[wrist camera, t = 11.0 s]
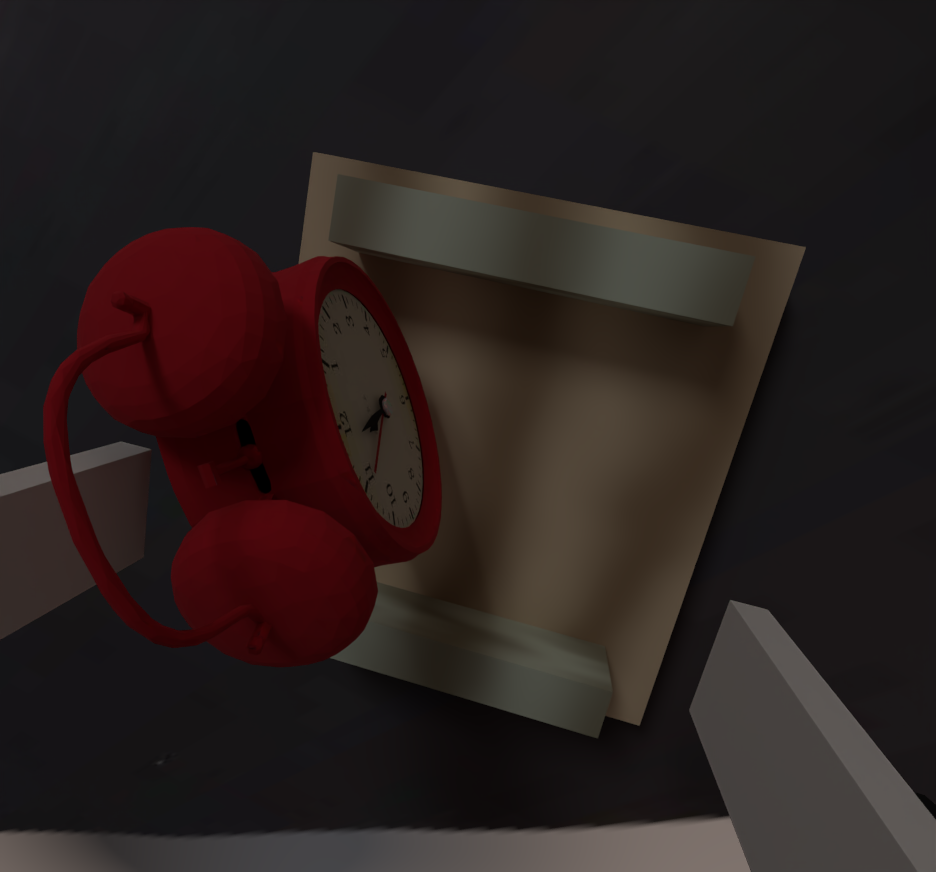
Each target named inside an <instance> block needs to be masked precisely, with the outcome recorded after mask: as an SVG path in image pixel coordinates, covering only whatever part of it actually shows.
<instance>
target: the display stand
mask: <svg viewBox="0 0 936 872" xmlns="http://www.w3.org/2000/svg"><path fill="white" fill-rule="evenodd" d="M805 248H806V247H801V246H796V245H791V244H786V243H780V242H775V241H770V240H765V239H760V238H755V237H749V236H744V235H739V234H734V233H729V232H724V231H718V230H713V229H708V228H703V227H698V226H693V225H687V224H682V223H677V222H672V221H667V220H662V219H657V218H651V217H646V216H641V215H636V214H631V213H626V212H620V211H615V210H610V209H605V208H600V207H595V206H589V205H584V204H579V203H574V202H569V201H564V200H558V199H553V198H548V197H543V196H538V195H533V194H528V193H522V192H517V191H512V190H507V189H502V188H497V187H491V186H486V185H481V184H476V183H471V182H466V181H460V180H455V179H450V178H445V177H440V176H435V175H429V174H424V173H419V172H414V171H409V170H404V169H398V168H393V167H388V166H383V165H378V164H373V163H368V162H362V161H357V160H352V159H347V158H342V157H337V156H331V155H326V154H321V153H316V152H313V158H312V165H311V173H310V181H309V188H308V196H307V204H306V211H305V219H304V227H303V234H302V242H301V250H300V257H299V264H300V263H302V262H305V261H307V260H309V259H312V258H314V257H317V256H326V257H334V256H340V257H345V258H347V259H349V260H351V261H353V262H354V263H355V264H357V265H358V266H359V267H360V268H361V269H362V270H363V271H364V272H365V273H366V274H367V275H368V276H369V278H370V279H371V280H372V281H373V283H374V284H375V285H376V287H377V288H378V290H379V291H380V293H381V294H382V296H383V298H384V299H385V301H386V303H387V304H388V306H389V308H390V309H391V311H392V313H393V315H394V317H395V319H396V321H397V323H398V325H399V327H400V329H401V332H402V334H403V336H404V338H405V340H406V343H407V345H408V347H409V350H410V352H411V355H412V357H413V360H414V363H415V365H416V368H417V371H418V374H419V377H420V380H421V383H422V387H423V390H424V393H425V397H426V400H427V403H428V407H429V411H430V415H431V419H432V424H433V428H434V433H435V438H436V443H437V449H438V455H439V463H440V472H441V483H442V510H441V520H440V526H439V530H438V534H437V537H436V539H435V541H434V543H433V545H432V546H431V547H430V548H429V549H428V550H427V551H425V552H423V553H421V554H419V555H418V556H417V557H415V558H414V559H412V560H410V561H407V562H401V563H395V564H388V565H382V566H378V567H374V569H375V575H376V581H377V587H378V594H377V598H376V602H375V606H374V609H373V612H372V614H371V617H370V619H369V621H368V623H367V625H366V628H365V630H364V631H363V632H362V633H361V634H360V636H359V637H358V638H357V639H356V640H355V641H354V642H352V643H351V644H350V645H349V646H348V647H346V648H345V649H344V650H342V651H341V652H339V653H338V654H336V655H334V656H332V657H330V658H332V659H336V660H339V661H342V662H346V663H349V664H352V665H356V666H359V667H362V668H366V669H369V670H372V671H375V672H379V673H382V674H385V675H389V676H392V677H395V678H399V679H402V680H405V681H409V682H412V683H415V684H419V685H422V686H425V687H429V688H432V689H435V690H439V691H442V692H445V693H449V694H452V695H455V696H459V697H462V698H465V699H468V700H472V701H475V702H478V703H482V704H485V705H488V706H492V707H495V708H498V709H502V710H505V711H508V712H512V713H515V714H518V715H522V716H525V717H528V718H532V719H535V720H538V721H542V722H545V723H548V724H552V725H555V726H558V727H561V728H565V729H568V730H571V731H575V732H578V733H581V734H585V735H588V736H591V737H595V738H598V736H599V733H600V730H601V727H602V724H603V721H604V718H605V716H608V717H611V718H615V719H618V720H622V721H625V722H628V723H632V724H635V725H638V726H639V725H640V723H641V720H642V717H643V714H644V711H645V708H646V705H647V702H648V700H649V697H650V694H651V691H652V688H653V685H654V682H655V679H656V677H657V674H658V671H659V668H660V665H661V662H662V659H663V656H664V654H665V651H666V648H667V645H668V642H669V639H670V636H671V633H672V631H673V628H674V625H675V622H676V619H677V616H678V613H679V610H680V608H681V605H682V602H683V599H684V596H685V593H686V590H687V587H688V585H689V582H690V579H691V576H692V573H693V570H694V567H695V564H696V562H697V559H698V556H699V553H700V550H701V547H702V544H703V542H704V539H705V536H706V533H707V530H708V527H709V524H710V521H711V519H712V516H713V513H714V510H715V507H716V504H717V501H718V498H719V496H720V493H721V490H722V487H723V484H724V481H725V478H726V475H727V473H728V470H729V467H730V464H731V461H732V458H733V455H734V452H735V450H736V447H737V444H738V441H739V438H740V435H741V432H742V429H743V427H744V424H745V421H746V418H747V415H748V412H749V409H750V406H751V404H752V401H753V398H754V395H755V392H756V389H757V386H758V383H759V381H760V378H761V375H762V372H763V369H764V366H765V363H766V360H767V358H768V355H769V352H770V349H771V346H772V343H773V340H774V337H775V335H776V332H777V329H778V326H779V323H780V320H781V317H782V314H783V312H784V309H785V306H786V303H787V300H788V297H789V294H790V291H791V289H792V286H793V283H794V280H795V277H796V274H797V271H798V268H799V266H800V263H801V260H802V257H803V254H804V251H805Z"/></svg>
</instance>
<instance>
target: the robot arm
mask: <svg viewBox="0 0 936 872" xmlns="http://www.w3.org/2000/svg"><path fill="white" fill-rule="evenodd" d="M70 459H71V465H72V470H73V474H74V477H75V480H76V483H77V486H78V488H79V491H80V494H81V497H82V499H83V502H84V505H85V507H86V510H87V513H88V516H89V518H90V521H91V524H92V526H93V529H94V532H95V535H96V537H97V540H98V542H99V544H100V546H101V548H102V550H103V553H104V555H105V557H106V558H107V560H108V562H109V563H110V565H111V566H112V568H113V569H114V571H115V572H116V573H117V572H119V571H120V570H122V569H124V568H126V567H127V566H129V565H131V564H133V563H134V562H136V561H138V560H139V559H141V558H143V557H144V545H145V531H146V518H147V504H148V491H149V477H150V463H151V449H148V448H144V447H140V446H136V445H132V444H128V443H125V442H118V443H114V444H111V445H107V446H103V447H100V448H96V449H92V450H89V451H85V452H81V453H78V454H74V455H70ZM94 585H96V583H95V581H94V579H93V577H92V575H91V574H90V572H89V570H88V568H87V566H86V565H85V563H84V561H83V559H82V557H81V556H80V554H79V552H78V550H77V548H76V547H75V545H74V543H73V541H72V538H71V535H70V532H69V530H68V527H67V524H66V521H65V518H64V516H63V513H62V510H61V507H60V504H59V502H58V499H57V496H56V493H55V490H54V488H53V485H52V482H51V478H50V475H49V471H48V465H47V462H44V463H41V464H37V465H33V466H29V467H26V468H22V469H18V470H15V471H11V472H7V473H4V474H0V639H2V638H4V637H6V636H7V635H9V634H11V633H13V632H14V631H16V630H18V629H20V628H21V627H23V626H25V625H26V624H28V623H30V622H32V621H33V620H35V619H37V618H39V617H40V616H42V615H44V614H46V613H47V612H49V611H51V610H53V609H54V608H56V607H58V606H60V605H61V604H63V603H65V602H66V601H68V600H70V599H72V598H73V597H75V596H77V595H79V594H80V593H82V592H84V591H86V590H87V589H89V588H91V587H93V586H94ZM689 711H690V714H691V716H692V719H693V722H694V724H695V727H696V729H697V732H698V735H699V737H700V740H701V742H702V745H703V748H704V750H705V753H706V756H707V758H708V761H709V763H710V766H711V769H712V771H713V774H714V776H715V779H716V782H717V784H718V787H719V789H720V792H721V795H722V797H723V800H724V802H725V805H726V808H727V810H728V813H729V815H730V818H731V821H732V823H733V826H734V828H735V831H736V834H737V836H738V839H739V841H740V844H741V847H742V849H743V851H744V854H745V857H746V859H747V862H748V865H749V867H750V870H751V872H936V805H935V804H934V803H933V802H932V801H931V800H929V799H928V798H927V797H926V796H925V795H922V794H918V793H915V792H913V791H912V789H911V788H910V787H909V786H908V784H907V783H906V782H905V781H904V779H903V778H902V777H901V776H900V774H899V773H898V772H897V771H896V769H895V768H894V767H893V766H892V764H891V763H890V762H889V761H888V759H887V758H886V757H885V756H884V754H883V753H882V752H881V751H880V749H879V748H878V747H877V746H876V744H875V743H874V742H873V741H872V739H871V738H870V737H869V736H868V734H867V733H866V732H865V731H864V729H863V728H862V727H861V726H860V724H859V723H858V722H857V721H856V719H855V718H854V717H853V716H852V714H851V713H850V712H849V711H848V709H847V708H846V707H845V706H844V704H843V703H842V702H841V701H840V699H839V698H838V697H837V696H836V694H835V693H834V692H833V691H832V689H831V688H830V687H829V686H828V684H827V683H826V682H825V681H824V679H823V678H822V677H821V676H820V674H819V673H818V672H817V671H816V669H815V668H814V667H813V666H812V664H811V663H810V662H809V661H808V659H807V658H806V657H805V656H804V654H803V653H802V652H801V651H800V649H799V648H798V647H797V646H796V644H795V643H794V642H793V641H792V639H791V638H790V637H789V636H788V634H787V633H786V632H785V631H784V629H783V628H782V627H781V626H780V624H779V623H778V622H777V621H776V619H775V618H774V617H773V616H772V614H771V613H770V612H769V611H768V610H767V609H763V608H759V607H755V606H751V605H747V604H744V603H740V602H736V601H732V600H730V602H729V604H728V607H727V610H726V612H725V615H724V618H723V620H722V623H721V626H720V629H719V631H718V634H717V637H716V639H715V642H714V645H713V647H712V650H711V653H710V656H709V658H708V661H707V664H706V666H705V669H704V672H703V674H702V677H701V680H700V682H699V685H698V688H697V691H696V693H695V696H694V699H693V701H692V704H691V707H690V709H689Z"/></svg>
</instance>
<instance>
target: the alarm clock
mask: <svg viewBox="0 0 936 872" xmlns="http://www.w3.org/2000/svg"><path fill="white" fill-rule="evenodd" d="M81 373H83V376H84V379H85V382H86V384H87V386H88V387H89V389H90V391H91V392H92V394H93V396H94V397H95V399H96V400H97V401H98V402H99V404H100V405H101V406H102V407H103V408H104V409H105V410H106V411H107V412H108V413H109V414H110V415H111V416H112V417H113V418H114V419H115V420H117V421H119V422H121V423H123V424H125V425H127V426H129V427H131V428H133V429H136V430H138V431H140V432H143V433H147V434H150V435H154V436H156V438H157V442H158V445H159V448H160V451H161V455H162V458H163V461H164V464H165V468H166V471H167V474H168V477H169V479H170V482H171V484H172V487H173V490H174V492H175V494H176V496H177V498H178V501H179V503H180V505H181V507H182V509H183V511H184V513H185V515H186V517H187V519H188V521H189V523H190V525H191V526H192V529H191V530H190V531H189V532H188V533H187V535H186V536H185V538H184V539H183V541H182V543H181V545H180V547H179V549H178V551H177V553H176V556H175V558H174V560H173V563H172V571H171V581H172V587H173V593H174V599H175V602H176V605H177V607H178V609H179V611H180V613H181V615H182V616H183V617H184V619H185V620H186V622H187V623H188V624H189V626H190V627H191V628H192V629H193V630H182V631H178V630H175V629H172V628H169V627H166V626H163V625H161V624H159V623H158V622H156V621H155V620H153V619H152V618H151V617H150V616H149V615H148V614H147V613H146V612H145V611H144V610H143V609H142V608H141V607H140V606H139V605H138V603H137V602H136V601H135V600H134V599H133V598H132V597H131V596H130V594H129V593H128V591H127V590H126V588H125V586H124V585H123V583H122V582H121V580H120V579H119V577H118V576H117V574H116V572H115V571H114V569H113V568H112V566H111V565H110V563H109V562H108V560H107V558H106V557H105V555H104V553H103V550H102V548H101V546H100V544H99V542H98V540H97V537H96V535H95V532H94V529H93V526H92V524H91V521H90V518H89V516H88V513H87V510H86V507H85V505H84V502H83V499H82V497H81V494H80V491H79V488H78V486H77V483H76V480H75V477H74V474H73V470H72V465H71V459H70V453H69V442H68V431H67V408H68V399H69V396H70V393H71V391H72V389H73V387H74V384H75V382H76V380H77V378H78V376H79V375H80V374H81ZM43 416H44V447H45V453H46V459H47V465H48V471H49V475H50V478H51V482H52V485H53V488H54V490H55V493H56V496H57V499H58V502H59V504H60V507H61V510H62V513H63V516H64V518H65V521H66V524H67V527H68V530H69V532H70V535H71V538H72V541H73V543H74V545H75V547H76V548H77V550H78V552H79V554H80V556H81V557H82V559H83V561H84V563H85V565H86V566H87V568H88V570H89V572H90V574H91V575H92V577H93V579H94V581H95V583H96V584H97V586H98V588H99V590H100V592H101V593H102V595H103V596H104V598H105V599H106V600H107V602H108V603H109V604H110V606H111V607H112V609H113V610H114V611H115V612H116V613H117V615H118V616H119V617H120V618H121V619H122V620H123V621H124V622H125V623H126V624H127V625H128V626H129V627H130V628H132V629H133V630H135V631H136V632H138V633H139V634H141V635H143V636H144V637H146V638H147V639H149V640H150V641H152V642H153V643H155V644H159V645H163V646H167V647H171V648H178V647H186V646H194V645H198V644H200V643H203V642H205V641H207V642H208V643H210V644H211V645H213V646H214V647H215V648H217V649H218V650H220V651H221V652H223V653H224V654H226V655H229V656H231V657H234V658H236V659H239V660H242V661H244V662H247V663H250V664H253V665H262V666H272V667H291V666H300V665H308V664H312V663H316V662H319V661H323V660H325V659H327V658H330V657H332V656H334V655H336V654H338V653H339V652H341V651H342V650H344V649H345V648H346V647H348V646H349V645H350V644H351V643H352V642H354V641H355V640H356V639H357V638H358V637H359V636H360V634H361V633H362V632H363V631H364V630H365V628H366V625H367V623H368V621H369V619H370V617H371V614H372V612H373V609H374V606H375V602H376V598H377V594H378V587H377V581H376V575H375V569H374V567H378V566H382V565H388V564H395V563H401V562H407V561H410V560H412V559H414V558H415V557H417V556H418V555H419V554H421V553H423V552H425V551H427V550H428V549H429V548H430V547H431V546H432V545H433V543H434V541H435V539H436V537H437V534H438V530H439V526H440V520H441V510H442V483H441V472H440V463H439V455H438V449H437V443H436V438H435V433H434V428H433V424H432V419H431V415H430V411H429V407H428V403H427V400H426V397H425V393H424V390H423V387H422V383H421V380H420V377H419V374H418V371H417V368H416V365H415V363H414V360H413V357H412V355H411V352H410V350H409V347H408V345H407V343H406V340H405V338H404V336H403V334H402V332H401V329H400V327H399V325H398V323H397V321H396V319H395V317H394V315H393V313H392V311H391V309H390V308H389V306H388V304H387V303H386V301H385V299H384V298H383V296H382V294H381V293H380V291H379V290H378V288H377V287H376V285H375V284H374V283H373V281H372V280H371V279H370V278H369V276H368V275H367V274H366V273H365V272H364V271H363V270H362V269H361V268H360V267H359V266H358V265H357V264H355V263H354V262H353V261H351V260H349V259H347V258H345V257H340V256H334V257H326V256H317V257H314V258H312V259H309V260H307V261H305V262H302V263H300V264H298V265H295V266H293V267H290V268H287V269H284V270H281V271H278V272H271V271H270V270H269V269H268V267H267V266H266V265H265V263H264V262H263V261H262V259H261V258H260V257H259V255H258V254H257V253H256V252H254V251H253V250H251V249H250V248H248V247H247V246H246V245H244V244H243V243H241V242H240V241H238V240H236V239H234V238H232V237H230V236H227V235H225V234H222V233H220V232H217V231H214V230H211V229H209V228H197V227H185V228H172V229H164V230H160V231H157V232H153V233H150V234H147V235H145V236H143V237H141V238H139V239H137V240H135V241H133V242H131V243H130V244H128V245H127V246H125V247H124V248H123V249H121V250H120V251H118V252H117V253H116V254H115V255H114V256H113V257H112V258H111V259H110V260H109V261H108V262H107V263H106V264H105V265H104V266H103V268H102V269H101V270H100V272H99V273H98V274H97V276H96V277H95V278H94V280H93V281H92V282H91V284H90V285H89V287H88V290H87V293H86V296H85V299H84V302H83V306H82V309H81V312H80V317H79V324H78V330H77V350H76V351H75V352H74V353H73V354H71V355H70V356H69V357H68V358H67V359H66V360H65V361H64V362H62V363H61V365H60V366H59V368H58V370H57V371H56V373H55V375H54V376H53V378H52V380H51V382H50V386H49V389H48V393H47V396H46V399H45V403H44V406H43Z"/></svg>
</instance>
